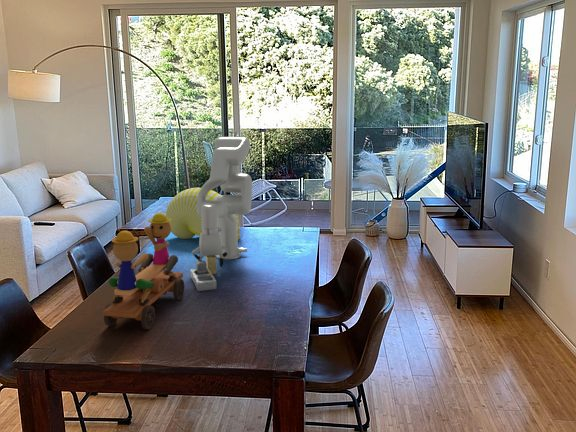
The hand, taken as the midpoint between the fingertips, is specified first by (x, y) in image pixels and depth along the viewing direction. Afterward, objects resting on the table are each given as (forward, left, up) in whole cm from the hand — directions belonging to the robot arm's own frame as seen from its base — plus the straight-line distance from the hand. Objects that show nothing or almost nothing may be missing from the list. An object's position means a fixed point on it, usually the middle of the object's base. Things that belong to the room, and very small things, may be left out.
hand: (211, 267), depth 266 cm
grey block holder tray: (+6, +13, -3) cm, 14 cm away
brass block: (0, 0, -3) cm, 3 cm away
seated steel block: (+6, +8, -3) cm, 11 cm away
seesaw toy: (+32, +39, -3) cm, 50 cm away
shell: (-7, -61, -3) cm, 61 cm away
